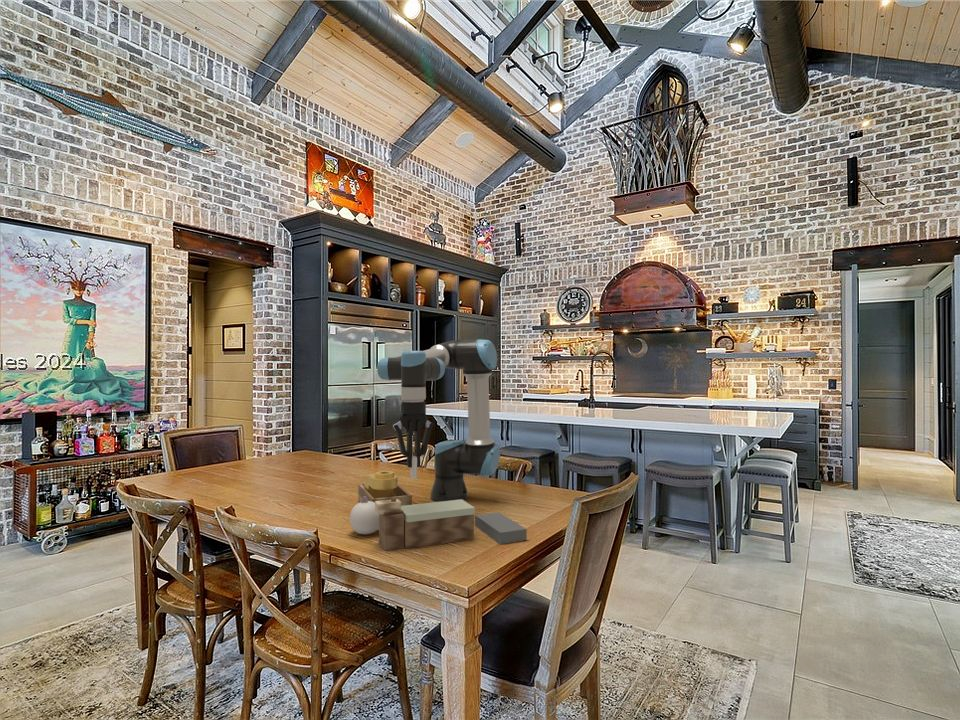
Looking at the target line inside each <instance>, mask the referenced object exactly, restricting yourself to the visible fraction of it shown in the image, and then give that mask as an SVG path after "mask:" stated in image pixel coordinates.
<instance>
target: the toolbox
mask: <svg viewBox="0 0 960 720" xmlns="http://www.w3.org/2000/svg"><path fill="white" fill-rule="evenodd" d="M474 539H475V514H473V515H464V516H456V517H448V518H440V519H431V520H423V521H415V522H406V521H405V520H404V514H403V510H400V511H391V512H384V514H380V515H379V528H378V543H379V545H380V546H381V548H382V549H383V551H385V552H388V551H394V550H401V549H405V550H406V549H414V548H419V547H427V546H434V545H440V544H441V545H443V544H448V543H453V542H454V543H455V542H462V541H468V540H471V541H472V540H474Z"/></svg>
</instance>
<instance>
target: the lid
mask: <svg viewBox="0 0 960 720" xmlns="http://www.w3.org/2000/svg"><path fill="white" fill-rule="evenodd" d="M401 510H403V514H404V520H405V521H406V522H415V521H423V520H431V519H440V518H448V517H456V516H464V515H473V514H474V515H476V514H475V513H476V511H475V510H476V507H474V506H473V505H471V504H470V503H468V502H467V501H465V500H462V499H460V500H451V501H442V502H439V501H434V502H425V503H423V502H422V503H415V504H412V505H404V506H401Z"/></svg>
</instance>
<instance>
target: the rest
mask: <svg viewBox="0 0 960 720" xmlns="http://www.w3.org/2000/svg"><path fill="white" fill-rule="evenodd" d="M474 527H477V528H478V529H479V530H480V531H482V532H483V533H484V534H485V535H487V536H488V537H489V538H491V539H492V540H494V541H495V542H496V543H498V544H499V545H504V544H505V545H506V544H510V543H511V542H512V543H518V542H517V541H519V542H524V541H523V540H526V541H527V528H526V527H524V526H522V525H520V524H519V523H517V522H515V520H512V519H511V518H509V517H508V516H506V515H504V514H502V513H501V512H498V511H497V512H490V513H482V514H474ZM512 543H511V544H512Z"/></svg>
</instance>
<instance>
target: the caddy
mask: <svg viewBox="0 0 960 720" xmlns="http://www.w3.org/2000/svg"><path fill="white" fill-rule="evenodd" d="M364 485H365V482H363V483H359V484H358V486H357V487H358V491H357V492H358V494H357V495H358V496H357V498H358V502H357V504H358V503H360V502H361V501H362V499H363V497H364V496H366V497H367V500H368V501H372V502H374V503H375V501H382V500H391V497H385V498H375V499H374V498H373V497H372V496H371V495H370V493H369V492H368V491H367V490H366V489H365V488H364ZM393 497H396V499H398V500H399V501H401V506H404V505H413V495H412V494H411V493H410V492H409V491H407V490H406V489H405V488H403V486H401V485H400V484H399V483H398V487H396V488H394V489H393ZM364 501H365V500H364Z"/></svg>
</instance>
